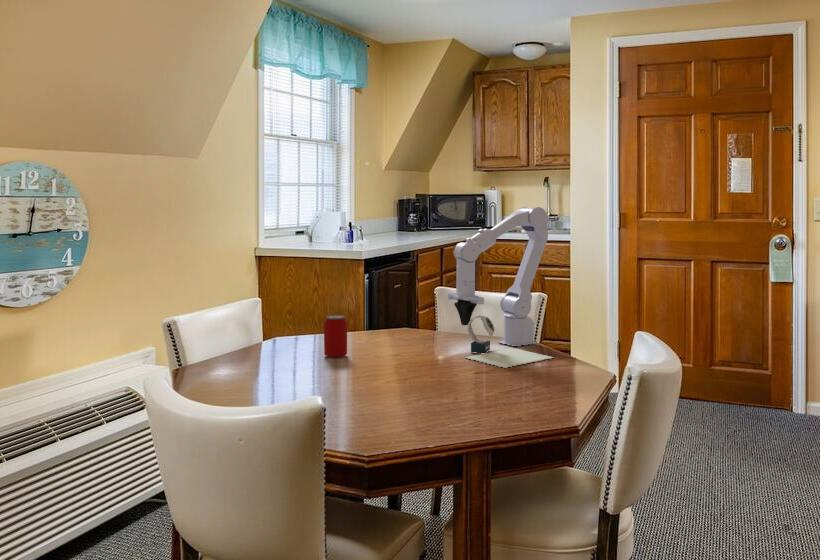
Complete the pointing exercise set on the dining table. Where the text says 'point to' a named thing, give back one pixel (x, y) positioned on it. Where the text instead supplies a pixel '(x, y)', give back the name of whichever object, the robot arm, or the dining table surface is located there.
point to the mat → (508, 357)
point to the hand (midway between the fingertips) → (465, 324)
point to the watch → (481, 345)
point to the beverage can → (335, 336)
